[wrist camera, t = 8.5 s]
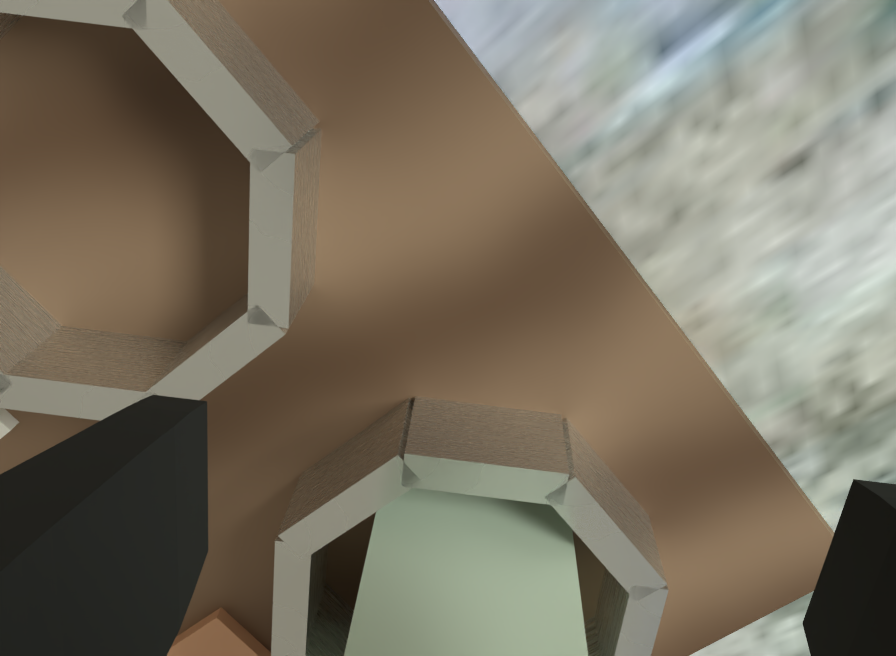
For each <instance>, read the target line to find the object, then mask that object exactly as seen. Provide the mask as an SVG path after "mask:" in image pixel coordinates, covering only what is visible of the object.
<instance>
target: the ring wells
mask: <svg viewBox="0 0 896 656" xmlns="http://www.w3.org/2000/svg"><path fill="white" fill-rule="evenodd" d="M23 15H25V16H34V17H42V18H50V19H58V20H67V21H75V22H83V23H91V24H100V25H108V26H116V27H124V28H132V29H133V30H134V31H135V32H136V33H137V34H138V35H139V37H140V38H141V39H142V40H143V41H144V42H145V43H146V45H147V46H148V47H149V48H150V49H151V50H152V51H153V53H154V54H155V55H156V56H157V57H158V58H159V59H160V60H161V62H162V63H163V64H164V65H165V66H166V67H167V68H168V70H169V71H170V72H171V73H172V74H173V75H174V76H175V78H176V79H177V80H178V81H179V82H180V83H181V84H182V86H183V87H184V88H185V89H186V90H187V91H188V92H189V94H190V95H191V96H192V97H193V98H194V99H195V100H196V101H197V103H198V104H199V105H200V106H201V107H202V108H203V109H204V111H205V112H206V113H207V114H208V115H209V116H210V117H211V119H212V120H213V121H214V122H215V123H216V124H217V125H218V127H219V128H220V129H221V130H222V131H223V132H224V133H225V134H226V136H227V137H228V138H229V139H230V140H231V141H232V142H233V144H234V145H235V146H236V147H237V148H238V149H239V150H240V152H241V153H242V154H243V155H244V156H245V157H246V158H247V160H248V161H249V162H250V206H249V265H248V293H247V294H246V295H245V296H243V297H242V298H241V299H240V300H238V301H237V302H236V303H235V304H233V305H232V306H231V307H230V308H228V309H227V310H226V311H225V312H223V313H222V314H221V315H220V316H218V317H217V318H216V319H215V320H213V321H212V322H211V323H210V324H208V325H207V326H206V327H205V328H203V329H202V330H201V331H200V332H198V333H197V334H196V335H195V336H193V337H192V338H191V339H190V340H188V341H179V340H171V339H163V338H155V337H147V336H139V335H131V334H123V333H115V332H106V331H98V330H90V329H82V328H74V327H66V326H61V325H60V324H59V323H58V322H57V321H56V320H55V319H54V318H53V317H52V316H51V315H50V314H49V313H48V312H47V311H46V310H45V309H44V308H43V307H42V306H41V305H40V304H39V303H38V302H37V301H36V300H35V299H34V298H33V297H32V296H31V295H30V294H29V293H28V292H27V291H26V290H24V289H23V288H22V287H21V286H20V285H19V284H18V283H17V282H16V281H15V280H14V279H13V278H12V277H11V276H10V275H9V274H8V273H7V272H6V271H5V270H4V269H3V268H2V267H1V266H0V408H3V409H11V410H19V411H27V412H36V413H44V414H52V415H60V416H68V417H76V418H84V419H92V420H100V421H101V420H103V419H105V418H107V417H108V416H110V415H112V414H114V413H116V412H118V411H120V410H122V409H124V408H126V407H128V406H130V405H132V404H134V403H136V402H138V401H140V400H142V399H144V398H147V397H149V396H151V395H160V396H168V397H176V398H185V399H193V400H200V399H202V398H203V397H204V396H206V395H207V394H208V393H210V392H211V391H212V390H213V389H215V388H216V387H217V386H219V385H220V384H221V383H223V382H224V381H225V380H227V379H228V378H229V377H230V376H232V375H233V374H234V373H236V372H237V371H238V370H240V369H241V368H242V367H244V366H245V365H246V364H247V363H249V362H250V361H251V360H253V359H254V358H255V357H257V356H258V355H259V354H260V353H262V352H263V351H264V350H266V349H267V348H268V347H270V346H271V345H272V344H274V343H275V342H276V341H277V340H279V339H280V338H281V337H283V336H284V335H285V334H286V332H287V331H288V329H289V327H290V325H291V324H292V322H293V320H294V318H295V317H296V315H297V313H298V311H299V310H300V308H301V306H302V304H303V303H304V301H305V299H306V297H307V296H308V294H309V292H310V290H311V288H312V286H313V285H314V277H315V257H316V238H317V218H318V198H319V178H320V158H321V138H322V129H321V128H313V127H314V126H315V125H316V124H317V123H318V122H319V120H318V119H317V118H316V117H315V116H314V114H313V113H312V112H311V111H310V110H309V108H308V107H307V106H306V105H305V104H304V102H303V101H302V100H301V99H300V98H299V96H298V95H297V94H296V93H295V92H294V90H293V89H292V88H291V87H290V86H289V84H288V83H287V82H286V81H285V80H284V78H283V77H282V76H281V75H280V74H279V72H278V71H277V70H276V69H275V68H274V66H273V65H272V64H271V63H270V62H269V60H268V59H267V58H266V57H265V56H264V54H263V53H262V52H261V51H260V50H259V48H258V47H257V46H256V45H255V44H254V42H253V41H252V40H251V39H250V38H249V37H248V35H247V34H246V33H245V32H244V31H243V29H242V28H241V27H240V26H239V25H238V23H237V22H236V21H235V20H234V19H233V17H232V16H231V15H230V14H229V13H228V11H227V10H226V9H225V8H224V7H223V5H222V4H221V3H220V2H219V1H218V0H0V39H1V38H2V37H3V36H4V35H5V34H6V33H7V32H8V31H9V30H10V29H11V28H12V26H13V25H14V24H15V23H16V22H17V21H18V20H19V19H20V18H21V17H22V16H23ZM412 488H419V489H427V490H435V491H443V492H451V493H459V494H467V495H475V496H483V497H491V498H499V499H507V500H515V501H523V502H531V503H539V504H547V505H551V506H552V507H553V508H554V509H555V510H556V511H557V512H558V514H559V515H560V516H561V517H562V518H563V519H564V520H565V522H566V523H567V524H568V525H569V526H570V527H571V528H572V530H573V531H574V532H575V533H576V534H577V535H578V536H579V537H580V539H581V540H582V541H583V542H584V543H585V544H586V545H587V547H588V548H589V549H590V550H591V551H592V552H593V553H594V555H595V556H596V557H597V558H598V559H599V560H600V561H601V563H602V564H603V565H604V566H605V567H606V568H605V572H604V577H603V581H602V585H601V590H600V594H599V598H598V603H597V607H596V611H595V616H594V617H593V618H591V619H589V620H587V621H586V622H584V626H585V634H586V642H587V650H588V656H651V653H652V650H653V646H654V642H655V639H656V635H657V631H658V627H659V624H660V620H661V616H662V613H663V609H664V605H665V601H666V598H667V594H668V586H667V582H666V578H665V574H664V571H663V567H662V563H661V559H660V556H659V552H658V548H657V544H656V541H655V537H654V533H653V530H652V526H651V522H650V518H649V515H648V514H647V513H646V512H645V510H644V509H643V508H642V507H641V506H640V504H639V503H638V502H637V501H636V500H635V499H634V497H633V496H632V495H631V494H630V493H629V491H628V490H627V489H626V488H625V487H624V485H623V484H622V483H621V482H620V481H619V479H618V478H617V477H616V476H615V475H614V473H613V472H612V471H611V470H610V469H609V467H608V466H607V465H606V464H605V463H604V461H603V460H602V459H601V458H600V457H599V455H598V454H597V453H596V452H595V451H594V449H593V448H592V447H591V446H590V445H589V443H588V442H587V441H586V440H585V439H584V437H583V436H582V435H581V434H580V433H579V431H578V430H577V429H576V428H575V427H574V425H573V424H572V423H571V422H570V421H569V420H568V418H567V417H566V418H565V419H563V420H562V417H561V414H553V413H545V412H537V411H529V410H521V409H513V408H505V407H497V406H489V405H481V404H473V403H465V402H457V401H449V400H441V399H432V398H424V397H416V396H415V401H414V403H413V401H412V400H411V399H410V398H408V399H407V400H405V401H404V402H403V403H401V404H400V405H398V406H397V407H395V408H394V409H393V410H391V411H390V412H388V413H387V414H385V415H384V416H383V417H381V418H380V419H378V420H377V421H375V422H374V423H372V424H371V425H370V426H368V427H367V428H365V429H364V430H362V431H361V432H360V433H358V434H357V435H355V436H354V437H352V438H351V439H349V440H348V441H347V442H345V443H344V444H342V445H341V446H339V447H338V448H337V449H335V450H334V451H332V452H331V453H329V454H328V455H327V456H325V457H324V458H322V459H321V460H319V461H318V462H316V463H315V464H314V465H312V466H311V467H309V468H308V469H306V470H305V471H304V472H302V475H301V477H299V480H298V483H297V485H296V488H295V490H294V493H293V496H292V498H291V501H290V503H289V506H288V509H287V511H286V514H285V516H284V519H283V521H282V524H281V527H280V529H279V532H278V534H277V537H276V540H275V557H274V585H273V614H272V642H271V656H344V653H345V649H346V644H347V640H348V635H349V631H350V626H351V622H352V617H353V613H354V610H353V609H352V608H351V607H350V606H349V605H348V604H347V603H346V602H345V601H344V600H343V599H341V598H340V597H339V596H338V595H337V594H336V593H335V592H334V591H333V590H332V589H331V588H330V587H329V586H328V585H327V584H326V568H327V553H328V543H329V542H331V541H332V540H334V539H336V538H337V537H339V536H340V535H342V534H343V533H345V532H346V531H348V530H349V529H351V528H352V527H354V526H355V525H357V524H358V523H360V522H361V521H363V520H364V519H366V518H368V517H369V516H371V515H372V514H374V513H375V512H377V511H378V510H380V509H381V508H383V507H384V506H386V505H387V504H389V503H390V502H392V501H393V500H395V499H396V498H398V497H400V496H401V495H403V494H404V493H406V492H407V491H409V490H410V489H412Z"/></svg>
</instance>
